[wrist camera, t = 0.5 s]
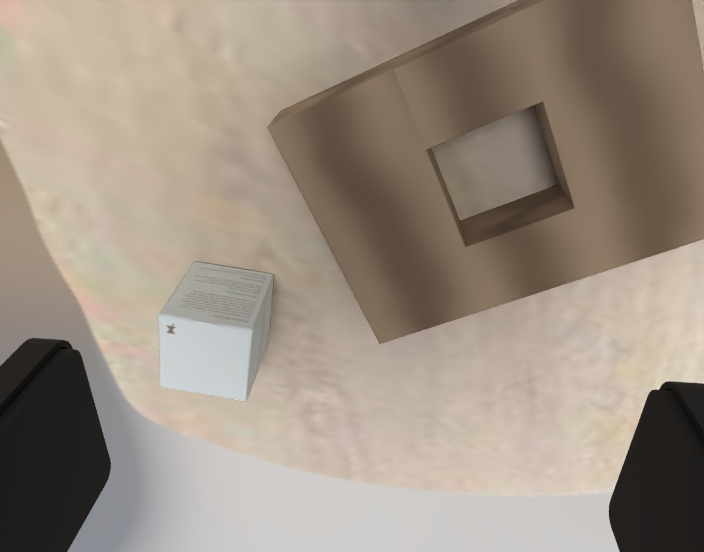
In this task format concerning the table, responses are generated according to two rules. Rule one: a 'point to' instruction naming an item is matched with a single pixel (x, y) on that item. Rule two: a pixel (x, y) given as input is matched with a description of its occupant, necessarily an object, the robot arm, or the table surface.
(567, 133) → the socket board
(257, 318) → the product box
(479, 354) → the table surface
